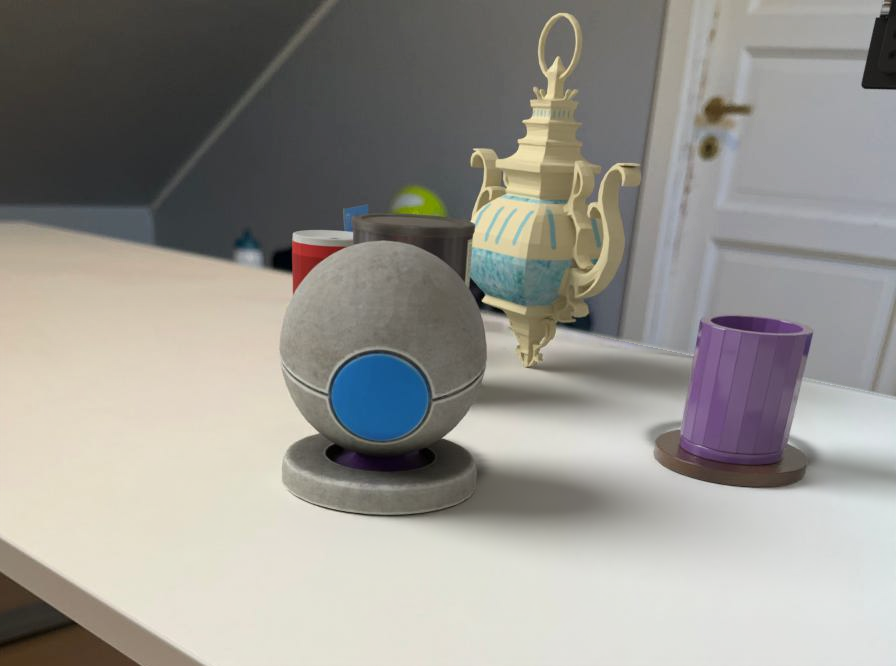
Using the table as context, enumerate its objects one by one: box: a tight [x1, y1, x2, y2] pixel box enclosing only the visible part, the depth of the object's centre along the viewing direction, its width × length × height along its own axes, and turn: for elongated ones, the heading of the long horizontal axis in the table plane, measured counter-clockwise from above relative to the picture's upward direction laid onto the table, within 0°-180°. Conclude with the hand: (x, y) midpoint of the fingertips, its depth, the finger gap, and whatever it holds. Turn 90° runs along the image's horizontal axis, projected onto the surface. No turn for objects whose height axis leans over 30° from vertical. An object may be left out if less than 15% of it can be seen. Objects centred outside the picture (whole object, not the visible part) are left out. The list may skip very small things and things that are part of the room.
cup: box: [679, 313, 815, 465], centre depth 70 cm, size 8×8×9 cm
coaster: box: [653, 428, 809, 488], centre depth 72 cm, size 11×11×1 cm
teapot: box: [469, 12, 642, 368], centre depth 90 cm, size 24×12×30 cm, turn 29°
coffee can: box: [351, 212, 475, 289], centre depth 84 cm, size 10×10×14 cm
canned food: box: [291, 229, 353, 296], centre depth 98 cm, size 8×8×11 cm
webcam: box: [279, 241, 488, 516], centre depth 62 cm, size 13×13×15 cm
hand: (883, 87), depth 71 cm, fingers open, 9 cm apart
